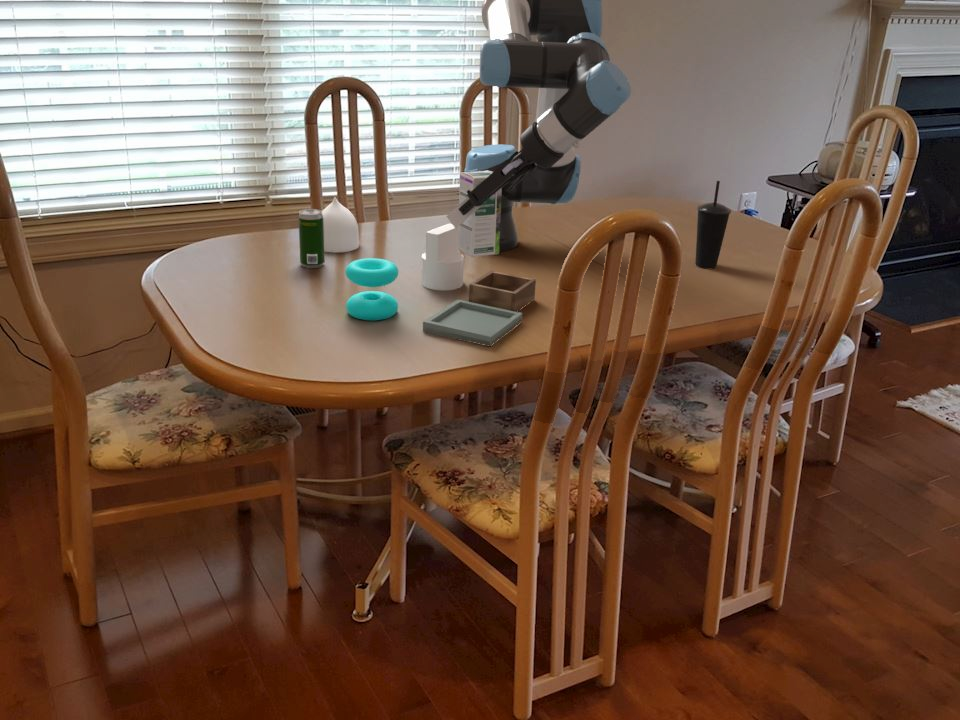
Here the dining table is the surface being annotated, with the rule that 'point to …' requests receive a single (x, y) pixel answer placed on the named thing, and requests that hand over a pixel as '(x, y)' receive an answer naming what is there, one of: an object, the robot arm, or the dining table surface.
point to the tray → (472, 322)
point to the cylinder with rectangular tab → (442, 259)
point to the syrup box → (480, 219)
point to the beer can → (311, 238)
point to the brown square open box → (502, 291)
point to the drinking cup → (710, 231)
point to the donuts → (372, 302)
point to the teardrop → (339, 229)
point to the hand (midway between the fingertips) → (462, 216)
